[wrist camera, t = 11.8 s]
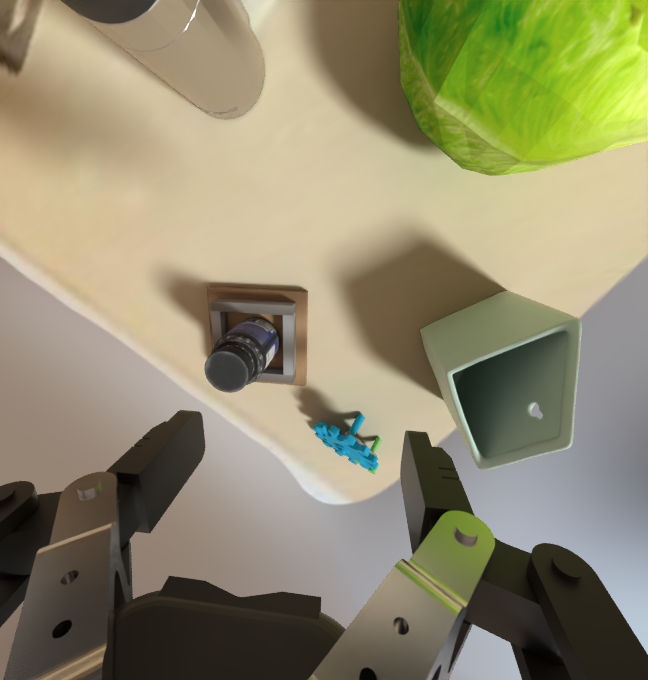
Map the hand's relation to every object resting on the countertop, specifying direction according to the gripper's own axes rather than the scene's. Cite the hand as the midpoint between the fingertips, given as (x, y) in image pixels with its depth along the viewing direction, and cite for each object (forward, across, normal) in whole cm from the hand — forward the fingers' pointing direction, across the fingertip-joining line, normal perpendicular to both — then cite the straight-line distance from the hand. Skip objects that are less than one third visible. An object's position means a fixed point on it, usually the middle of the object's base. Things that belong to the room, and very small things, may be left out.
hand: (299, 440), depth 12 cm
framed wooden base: (+30, +11, +6) cm, 33 cm away
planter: (+30, -14, +5) cm, 34 cm away
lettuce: (+30, -15, -22) cm, 40 cm away
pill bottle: (+29, +11, +6) cm, 32 cm away
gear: (+30, -2, +20) cm, 37 cm away
